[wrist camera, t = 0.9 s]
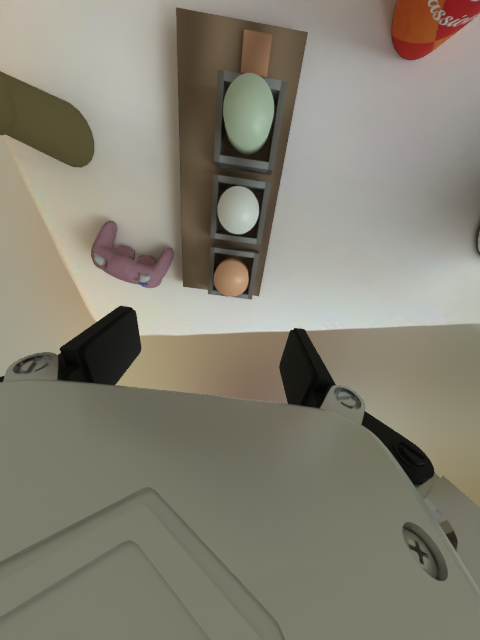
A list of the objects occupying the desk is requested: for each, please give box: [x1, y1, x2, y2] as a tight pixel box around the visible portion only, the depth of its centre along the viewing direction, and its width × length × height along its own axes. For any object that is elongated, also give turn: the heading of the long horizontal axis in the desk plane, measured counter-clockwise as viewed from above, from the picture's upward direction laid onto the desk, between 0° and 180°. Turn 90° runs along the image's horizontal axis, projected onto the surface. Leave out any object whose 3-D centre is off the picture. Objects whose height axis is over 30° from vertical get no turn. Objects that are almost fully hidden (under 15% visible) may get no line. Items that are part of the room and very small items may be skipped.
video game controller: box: [91, 221, 173, 288], centre depth 26 cm, size 10×5×7 cm, turn 65°
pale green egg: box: [223, 73, 274, 155], centre depth 17 cm, size 4×4×3 cm
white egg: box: [217, 186, 259, 234], centre depth 21 cm, size 4×4×3 cm
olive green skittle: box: [0, 72, 94, 167], centre depth 17 cm, size 6×6×11 cm
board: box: [176, 8, 308, 299], centre depth 23 cm, size 12×26×4 cm, turn 173°
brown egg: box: [214, 258, 249, 297], centre depth 24 cm, size 4×4×3 cm
